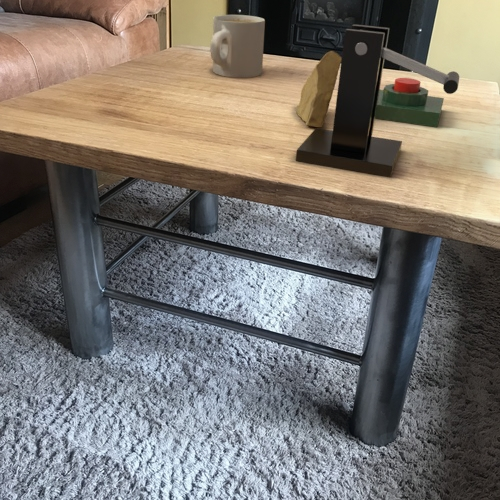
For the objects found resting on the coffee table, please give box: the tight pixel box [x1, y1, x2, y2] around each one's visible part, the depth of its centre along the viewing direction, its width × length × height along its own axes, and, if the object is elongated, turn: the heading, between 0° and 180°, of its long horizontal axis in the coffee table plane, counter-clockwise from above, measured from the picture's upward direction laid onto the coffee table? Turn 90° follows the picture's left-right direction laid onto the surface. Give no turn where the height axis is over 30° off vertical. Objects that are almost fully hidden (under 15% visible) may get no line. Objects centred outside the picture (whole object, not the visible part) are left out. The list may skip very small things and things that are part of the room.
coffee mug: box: [209, 14, 266, 79], centre depth 109 cm, size 13×10×10 cm
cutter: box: [295, 24, 403, 178], centre depth 70 cm, size 12×10×16 cm
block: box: [375, 83, 445, 128], centre depth 91 cm, size 12×10×4 cm
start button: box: [393, 77, 421, 93], centre depth 90 cm, size 4×4×2 cm
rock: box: [295, 50, 342, 129], centre depth 86 cm, size 11×9×10 cm
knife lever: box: [381, 47, 460, 95], centre depth 66 cm, size 13×5×2 cm, turn 70°
